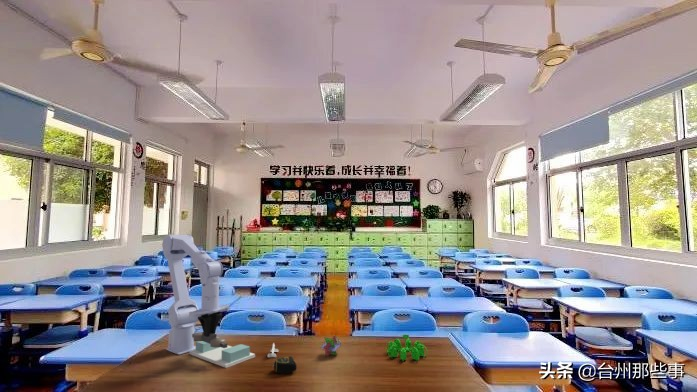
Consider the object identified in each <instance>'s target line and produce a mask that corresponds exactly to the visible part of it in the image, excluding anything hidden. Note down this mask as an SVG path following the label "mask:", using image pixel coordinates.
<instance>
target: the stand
mask: <svg viewBox="0 0 697 392" xmlns="http://www.w3.org/2000/svg"><path fill="white" fill-rule="evenodd" d="M216 338H220V337H219V336H216ZM195 346H196V350H192V351H190V352H189V355H191V356H193V357H196V358H199V359H201V360H204V361H207V362H209V363H212V364H215V365H217V366H220V367H222V368H225V369H227V368H230V367H233V366H235V365H238V364H240V363H243V362H245V361H248V360H251V359H253V358H256V353H253V352H251V346H249V345H246V344H236V345H234V346H231V345H227V348H222V347H217V348H214V347H211V346H210V344H209V343H206V342H204V341H195Z"/></svg>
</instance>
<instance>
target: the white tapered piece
mask: <svg viewBox="0 0 697 392" xmlns="http://www.w3.org/2000/svg"><path fill="white" fill-rule="evenodd" d="M275 347H276V345H275V342H273V343H272V348H270V350H269V353H267V358H277V354H276V353H274V352H279V351H280V350H279V349H278V348H275ZM270 352H272V353H270Z"/></svg>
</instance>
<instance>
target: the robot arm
mask: <svg viewBox="0 0 697 392" xmlns="http://www.w3.org/2000/svg"><path fill="white" fill-rule="evenodd" d="M161 246H162V251H163V257H164V258H165V259H166V260H167V264H168V269H169V275H170V281H171V286H172V287H171V288H172V293H173V297H174V302H173V303H172V304H171V305H170V306H169V308H168V324H169V325H170V326H171V328H170V329H169V331H168V347H166V348H165V351H168V352H171V353H174V354H175V355H184V354H186V353H190V351H192V350H196V345H195V341H194V340H193V337H192V334H194V333H195V326H196V325H197V323H198V321H199V323H200V325H201V328H202V332H204V336H206V337H209V334H210V332H211V333H214V334H216V331H217V327H218V324H219V322H220V320H221V319H222V317H223V313H222V312H230V305H229V304H221V305H220V302H219V301H220V278H221V276H223V273H224V267H223V264H222V263H221V261H220V260H213V258H212V257H211V256H210V255H209V254H208V253H207V252H206V251H205V250H199V248H198V247H197V246H196V244H195V242H194V237H193V236H192V235H191V234H189V233H187V234H166V235H165V236H164V238H163V239H162V244H161ZM188 255H189V257H191V258H190V261H191V263H192V264H193V265H194V266H195V268H197V270H198V274H199V275H198V276H199V278H200V279H199V281H200V284H201V307H200V308H199V307H198V304H197V301H196V300H194V299H192V298H190V294H189V289H188V284H187V279H186V273H185V268H184V263H183V259H184V258H186V257H187V256H188Z"/></svg>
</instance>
